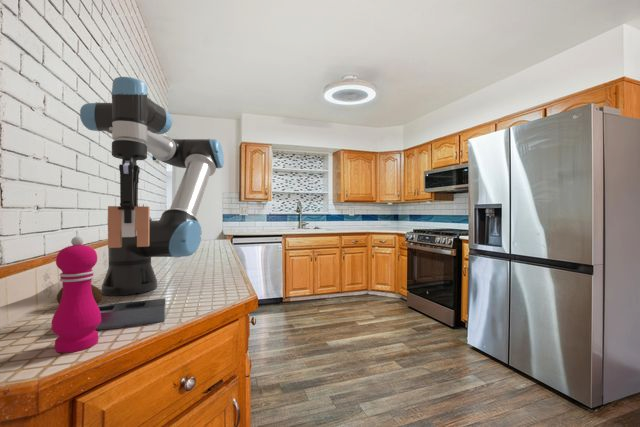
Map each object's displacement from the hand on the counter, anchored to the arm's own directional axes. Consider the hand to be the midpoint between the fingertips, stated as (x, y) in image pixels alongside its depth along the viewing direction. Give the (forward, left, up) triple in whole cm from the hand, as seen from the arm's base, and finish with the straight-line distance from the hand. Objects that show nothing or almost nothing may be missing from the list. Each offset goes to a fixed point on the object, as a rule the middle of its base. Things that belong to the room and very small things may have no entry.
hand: (129, 236), depth 77 cm
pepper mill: (+19, -6, -19) cm, 28 cm away
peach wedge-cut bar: (0, 0, -3) cm, 3 cm away
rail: (+8, -1, -19) cm, 20 cm away
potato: (-11, -13, -19) cm, 25 cm away
